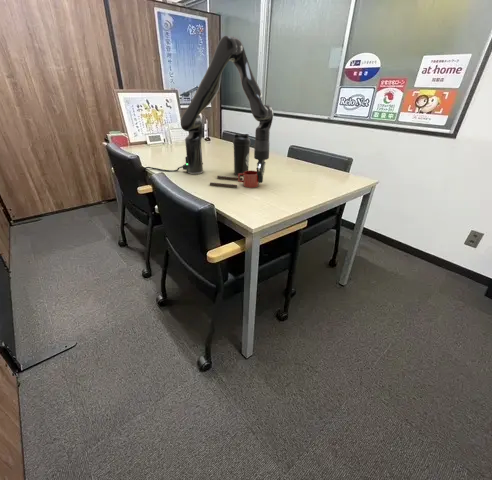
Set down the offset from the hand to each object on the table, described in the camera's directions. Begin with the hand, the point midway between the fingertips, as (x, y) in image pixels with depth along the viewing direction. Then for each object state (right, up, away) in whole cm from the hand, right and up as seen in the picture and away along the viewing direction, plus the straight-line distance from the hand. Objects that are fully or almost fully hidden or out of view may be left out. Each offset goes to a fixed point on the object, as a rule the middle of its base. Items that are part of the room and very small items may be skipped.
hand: (260, 182), depth 142 cm
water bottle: (-10, +9, +20) cm, 25 cm away
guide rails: (-18, +1, +5) cm, 19 cm away
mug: (-7, -1, +2) cm, 7 cm away
